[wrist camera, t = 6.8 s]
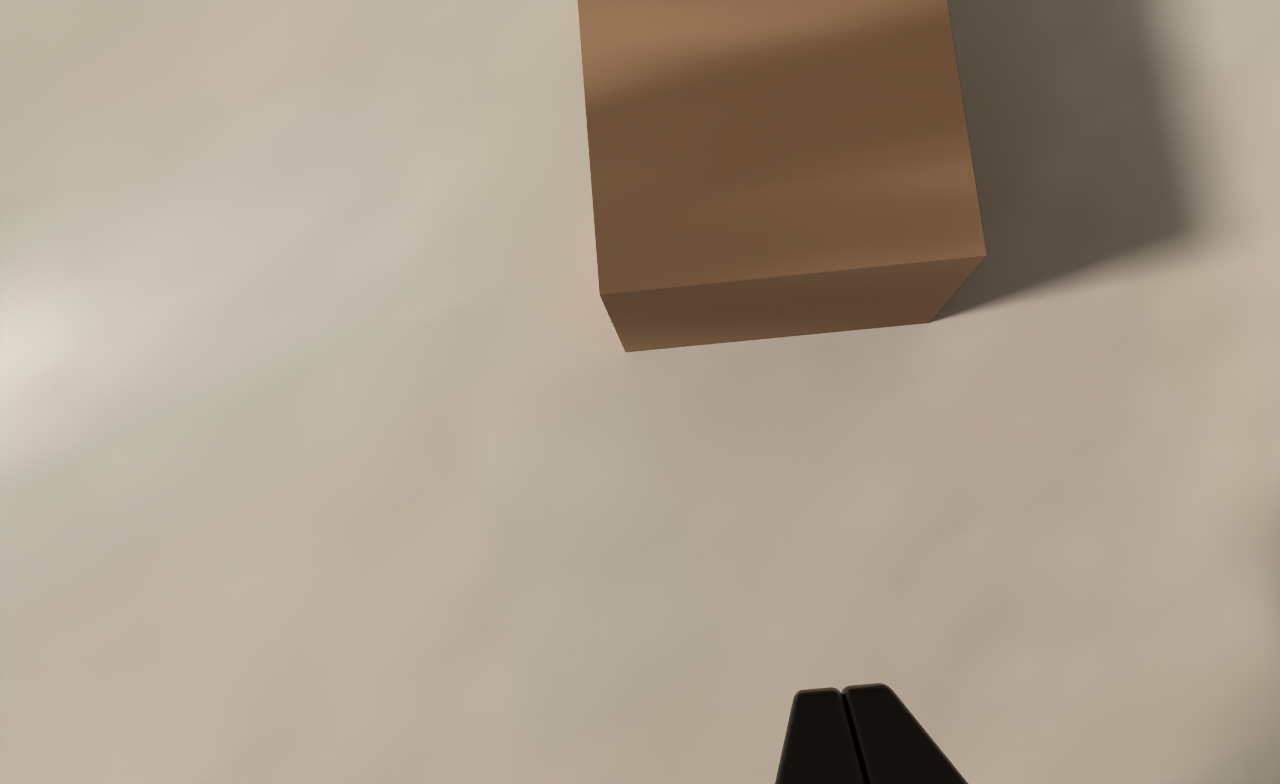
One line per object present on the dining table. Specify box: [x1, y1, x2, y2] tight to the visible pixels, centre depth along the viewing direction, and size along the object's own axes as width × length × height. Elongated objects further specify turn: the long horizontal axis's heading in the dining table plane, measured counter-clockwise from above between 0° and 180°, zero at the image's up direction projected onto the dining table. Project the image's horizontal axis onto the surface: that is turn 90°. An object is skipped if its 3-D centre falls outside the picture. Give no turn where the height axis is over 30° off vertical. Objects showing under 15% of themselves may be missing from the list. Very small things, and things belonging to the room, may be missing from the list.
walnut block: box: [578, 0, 987, 352], centre depth 15 cm, size 4×5×8 cm
